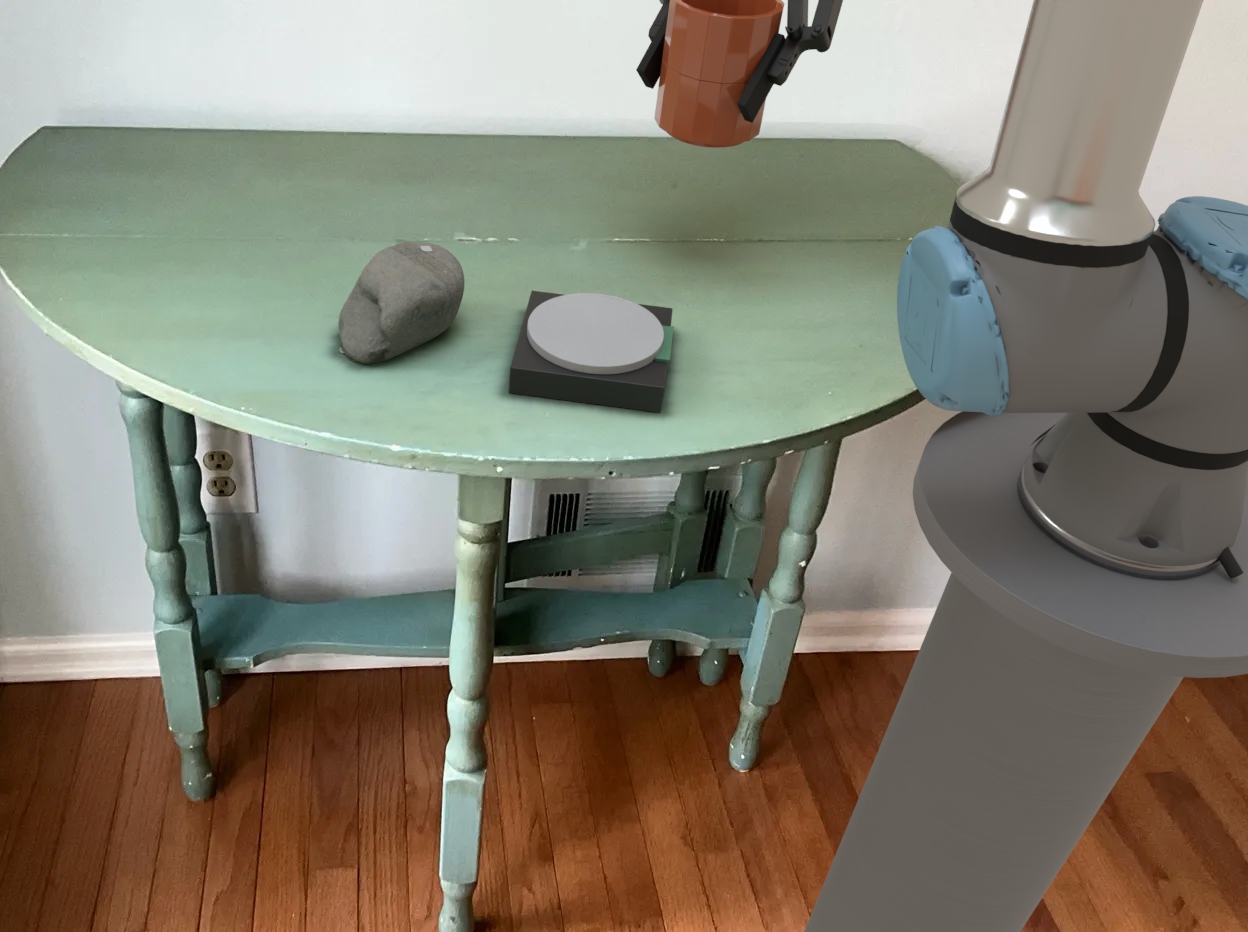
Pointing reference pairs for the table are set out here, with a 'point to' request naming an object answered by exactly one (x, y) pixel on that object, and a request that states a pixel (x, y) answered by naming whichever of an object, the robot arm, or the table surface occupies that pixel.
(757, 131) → the terracotta flower pot
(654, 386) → the scale
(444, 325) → the stone
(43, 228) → the table surface
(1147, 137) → the robot arm
